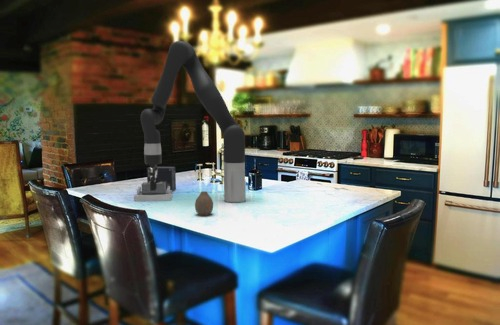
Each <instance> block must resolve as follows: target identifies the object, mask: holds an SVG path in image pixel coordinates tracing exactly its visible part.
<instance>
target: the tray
mask: <svg viewBox="0 0 500 325" xmlns="http://www.w3.org/2000/svg"><path fill="white" fill-rule="evenodd" d="M172 198H173V191H172V190H170V186H167V191H166V195H142V186H138V187H137V188H136V194H134V195H133V202H150V201H151V202H159V201H172Z"/></svg>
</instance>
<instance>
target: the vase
mask: <svg viewBox="0 0 500 325" xmlns="http://www.w3.org/2000/svg"><path fill="white" fill-rule="evenodd" d="M194 208H195V212H196V213H197V215H199V216H200V217H201V216H203V217H205V216H209V215H211V214H212V212H213V209H214V201H213V199H212V197H211V196H210V194H209V193H208V191H200V193H199V195H198V197H197V198H196V199H195V202H194Z"/></svg>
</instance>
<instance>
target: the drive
mask: <svg viewBox="0 0 500 325" xmlns="http://www.w3.org/2000/svg"><path fill="white" fill-rule="evenodd" d="M140 187H141V191H142V195H166V182H155V191H151V190H150V182H147V181H146V182H144V181H143V182H142V183H141V186H140Z"/></svg>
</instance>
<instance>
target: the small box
mask: <svg viewBox="0 0 500 325" xmlns="http://www.w3.org/2000/svg"><path fill="white" fill-rule="evenodd" d="M149 168H150V166H149V167H147V168H146V180H147V181H146V182H149V171H148V169H149ZM157 168H158V178H157V182H166V191H167V186H170V190H172V192H174V191H175V190H176V189H177V185H176V184H177V183H176V166H157ZM151 179H152V178H151Z"/></svg>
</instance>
